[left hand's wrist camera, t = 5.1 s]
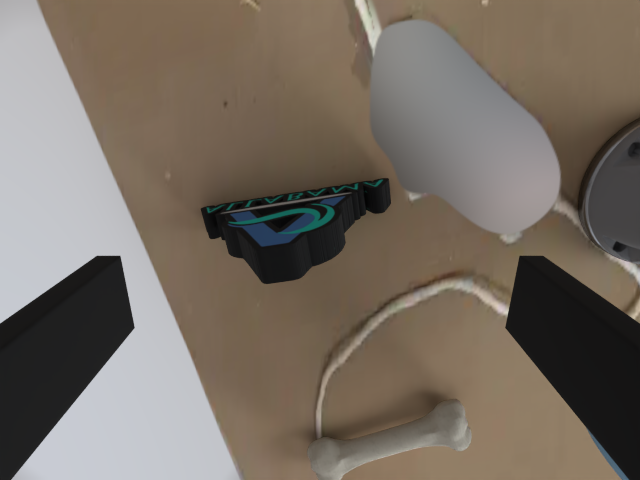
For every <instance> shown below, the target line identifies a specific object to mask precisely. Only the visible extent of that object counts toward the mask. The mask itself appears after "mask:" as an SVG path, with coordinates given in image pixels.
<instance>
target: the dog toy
mask: <svg viewBox="0 0 640 480" xmlns="http://www.w3.org/2000/svg"><path fill="white" fill-rule="evenodd" d="M467 425H468V421H467V419H466V418H465V409H464V407H463V406H462V404H461V403H460V401H459V400H457V399H450V400H445V401H442V402H440V403H439V404H437V405H436V407H435V408H434V409H433V410H432V411H431V412H430V413H428V414H427V415H426V416H424V417H422V418H420V419H418V420H415V421H412V422H409V423H406V424H403V425H399V426H396V427H393V428H389V429H386V430H383V431H379V432H376V433H372V434H369V435H366V436H362V437H359V438H354V439H349V440H338V439H333V438H330V437H322V438H319V439H317V440H315V441H313V442H312V443H311V444H310V445H309V448H308V450H307V455H308V457H309V459H310V462H311V469H312V470H313V471H314V472H316V475H317V478H318V479H319V480H341V478H342V476H343V475H344V474H345V473H347V472H349V471H350V470H352V469H354V468H356V467H358V466H360V465H362V464H364V463H367V462H370V461H373V460H376V459H380V458H383V457H387V456H390V455H394V454H397V453H401V452H404V451H408V450H411V449H415V448H420V447H428V446H448V447H450V448H452V449H454V450H457V451H463V450H465V449H466V448H467V447H468V446H469V445H470V442H471V430H470V428H469V427H468V426H467Z"/></svg>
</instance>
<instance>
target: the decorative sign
mask: <svg viewBox="0 0 640 480" xmlns="http://www.w3.org/2000/svg"><path fill="white" fill-rule="evenodd" d="M390 204H391V198H390V188H389V179H388V178H383V179H377V180H374V181H373V182H372V181H364V182H358V183H353V184H350V185H341V186H333V187H327V188H321V189H318V190H317V191H316V190H308V191H303V192H295V193H289V194H282V195H277V196H275V197H264V198H257V199H251V200H246V201H238V202H232V203H226V204H220V205H218V206H216V207H215V206H207V207H203V208H201V212H202V215H203V219H204V222H205V226H206V230H207V232H208V235H209V238H210V239H216V238H219V237H221V238H222V240H225V241H226V245H227V248H228V252H229V254H230V255H231V256H233V257H237V258H243V259H244V260H245V261H246V262H247V263H248V264H249V266H250V267H251V268H252V270H253V271H254V272H255V274H256V275H257V276H258V277H259V279H260V280H261V282H263V283H264V284H271V283H277V282H284V281H292V280H296V279H299V278H301V277H303V276H304V275H305V274H306V272H307V271H308V270H309V269H310V268H311V267H312V266H316V265H319V264H322V263H324V262H326V261H328V260H330V259H332V258H334V257H335V256H336V255H337V254H339V253H340V252H341V251H342V249H343V248H344V245H345V236H344V233H345V232H346V231H347V230H348V229H349V227H351V225H352V224H354V222H355V220H358V219H360V216H364V215H365V214H366V210H368V211H370V212H372V213H375V214H378V213H383V212H385V210H386V209H387V208H388V207H389V205H390Z"/></svg>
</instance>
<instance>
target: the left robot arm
mask: <svg viewBox="0 0 640 480" xmlns="http://www.w3.org/2000/svg"><path fill="white" fill-rule="evenodd" d="M579 216H580V220H581V224H582V226H583V229H584V231H585V233H586V234H587V236H588V237H589V238H590V240H591V241H592V242H593V243H594V244H595V245H596V246H598V247H599V248H600V249H602V250H604V251H605V252H607V253H609V254H611V255H613V256H615V257H617V258H619V259H622V260H625V261H628V262H632V263H636V264H640V118H639V119H637V120H635V121H634V122H632V123H630V124H629V125H627V126H626V127H624V128H623V129H621V130H620V131H619V132H618V133H616V134H615V135H614V136H613V137H612V138H611V139H610V140H609V141H608V142H607V143H606V144H605V145H604V146H603V147H602V148H601V150H600V151H599V152H598V153H597V155H596V156H595V158H594V159H593V161H592V162H591V164H590V166H589V168H588V170H587V172H586V174H585V176H584V179H583V182H582V185H581V189H580V194H579ZM505 328H506V329H507V330H508V332H509V333H510V334H511V335H512V337H513V338H514V339H515V340H516V341H517V343H518V344H519V345H520V346H521V348H522V349H523V350H524V351H525V352H526V354H527V355H528V356H529V357H530V359H531V360H532V361H533V362H534V364H535V365H536V366H537V367H538V368H539V370H540V371H541V372H542V373H543V375H544V376H545V377H546V378H547V380H548V381H549V382H550V383H551V384H552V386H553V387H554V388H555V389H556V391H557V392H558V393H559V394H560V396H561V397H562V398H563V399H564V400H565V402H566V403H567V404H568V405H569V407H570V408H571V409H572V410H573V412H574V413H575V414H576V415H577V416H578V418H579V419H580V420H581V421H582V423H583V424H584V425H585V426H586V428H587V430H588V432H589V434H590V436H591V437H592V439H593V441H594V442H595V444H596V446H597V447H598V449H599V450H600V452H601V453H602V455H603V456H604V457H605V459H606V460H607V461H608V463H609V464H610V465H611V467H612V468H613V469H614V471H615V472H616V473H617V474H618V475H619V477H620V478H621V479H622V480H640V323H638V322H637V321H635V320H634V319H632V318H631V317H630V316H628V315H627V314H625V313H624V312H622V311H621V310H620V309H618V308H617V307H615V306H614V305H612V304H611V303H610V302H608V301H607V300H605V299H604V298H602V297H601V296H600V295H598V294H597V293H595V292H594V291H592V290H591V289H590V288H588V287H587V286H585V285H584V284H582V283H581V282H580V281H578V280H577V279H575V278H574V277H572V276H571V275H570V274H568V273H567V272H565V271H564V270H562V269H561V268H560V267H558V266H557V265H555V264H554V263H552V262H551V261H550V260H548V259H547V258H545V257H544V256H520V257H519V262H518V267H517V272H516V277H515V282H514V287H513V292H512V297H511V302H510V307H509V312H508V317H507V322H506V327H505ZM133 329H134V323H133V317H132V312H131V307H130V303H129V297H128V292H127V287H126V282H125V277H124V272H123V267H122V262H121V257H120V256H96V257H95V258H93V259H92V260H90V261H89V262H88V263H86V264H85V265H83V266H82V267H80V268H79V269H78V270H76V271H75V272H73V273H72V274H70V275H69V276H68V277H66V278H65V279H63V280H62V281H60V282H59V283H58V284H56V285H55V286H53V287H52V288H50V289H49V290H48V291H46V292H45V293H43V294H42V295H40V296H39V297H38V298H36V299H35V300H33V301H32V302H30V303H29V304H28V305H26V306H25V307H23V308H22V309H20V310H19V311H18V312H16V313H15V314H13V315H12V316H10V317H9V318H8V319H6V320H5V321H3V322H2V323H0V480H11V479H12V478H13V477H14V475H15V474H16V473H17V472H18V471H19V469H20V468H21V467H22V466H23V464H24V463H25V462H26V461H27V459H28V458H29V457H30V456H31V454H32V453H33V452H34V451H35V450H36V448H37V447H38V446H39V445H40V443H41V442H42V441H43V440H44V438H45V437H46V436H47V435H48V434H49V432H50V431H51V430H52V429H53V427H54V426H55V425H56V424H57V423H58V421H59V420H60V419H61V418H62V416H63V415H64V414H65V413H66V412H67V410H68V409H69V408H70V407H71V405H72V404H73V403H74V402H75V400H76V399H77V398H78V397H79V395H80V394H81V393H82V392H83V391H84V389H85V388H86V387H87V386H88V384H89V383H90V382H91V381H92V380H93V378H94V377H95V376H96V375H97V373H98V372H99V371H100V370H101V368H102V367H103V366H104V365H105V364H106V362H107V361H108V360H109V359H110V357H111V356H112V355H113V354H114V352H115V351H116V350H117V349H118V348H119V346H120V345H121V344H122V343H123V341H124V340H125V339H126V338H127V336H128V335H129V334H130V333H131V332H132V330H133Z"/></svg>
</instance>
